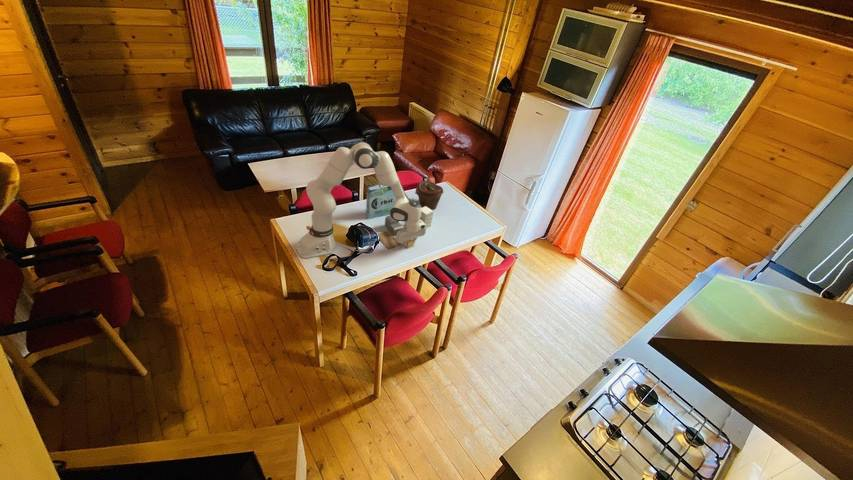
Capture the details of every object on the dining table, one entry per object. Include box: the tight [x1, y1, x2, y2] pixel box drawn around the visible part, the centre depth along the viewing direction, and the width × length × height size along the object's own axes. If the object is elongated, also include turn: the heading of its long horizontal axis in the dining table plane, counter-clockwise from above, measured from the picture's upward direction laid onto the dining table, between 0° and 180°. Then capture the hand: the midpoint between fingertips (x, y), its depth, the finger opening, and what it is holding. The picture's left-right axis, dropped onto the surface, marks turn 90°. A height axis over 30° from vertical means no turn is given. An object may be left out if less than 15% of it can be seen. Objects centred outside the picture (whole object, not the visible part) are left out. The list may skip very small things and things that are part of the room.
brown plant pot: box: [414, 180, 444, 211], centre depth 262 cm, size 18×20×18 cm
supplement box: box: [420, 206, 434, 229], centre depth 244 cm, size 7×7×13 cm
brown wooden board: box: [377, 230, 402, 250], centre depth 230 cm, size 9×16×1 cm, turn 36°
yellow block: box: [402, 239, 415, 249], centre depth 229 cm, size 12×4×4 cm, turn 36°
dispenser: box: [384, 215, 404, 237], centre depth 236 cm, size 12×7×10 cm, turn 36°
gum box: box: [365, 183, 395, 220], centre depth 244 cm, size 20×5×23 cm, turn 123°
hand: (409, 243), depth 227 cm, fingers closed on yellow block, 4 cm apart
